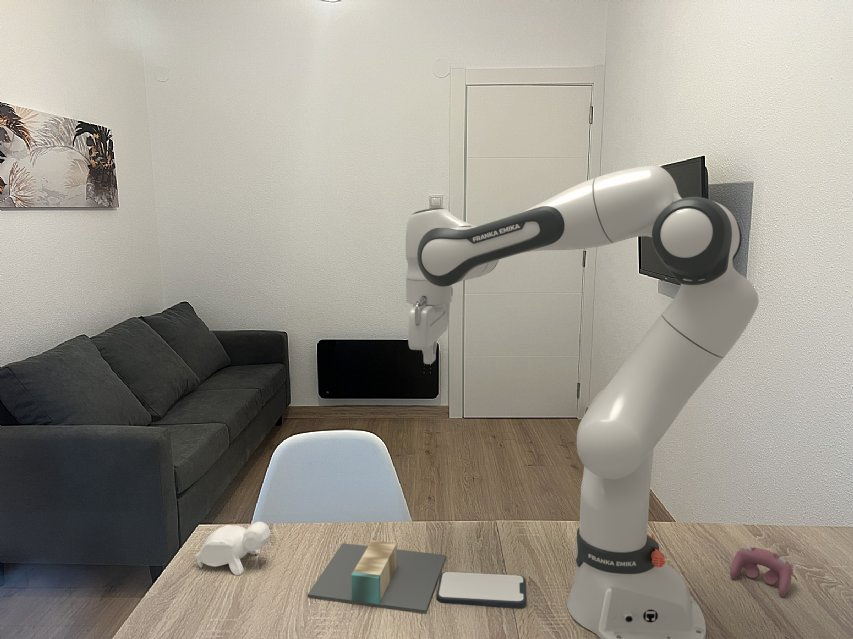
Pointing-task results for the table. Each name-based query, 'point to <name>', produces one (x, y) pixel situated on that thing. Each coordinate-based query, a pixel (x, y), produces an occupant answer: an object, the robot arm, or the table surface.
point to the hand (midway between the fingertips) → (429, 362)
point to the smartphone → (482, 589)
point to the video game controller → (757, 556)
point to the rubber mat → (404, 589)
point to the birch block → (374, 572)
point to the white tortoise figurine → (233, 545)
